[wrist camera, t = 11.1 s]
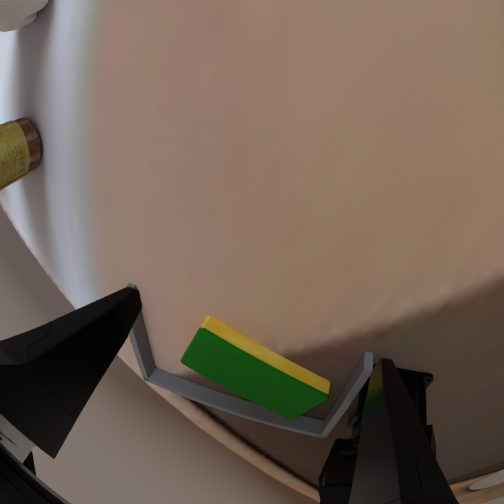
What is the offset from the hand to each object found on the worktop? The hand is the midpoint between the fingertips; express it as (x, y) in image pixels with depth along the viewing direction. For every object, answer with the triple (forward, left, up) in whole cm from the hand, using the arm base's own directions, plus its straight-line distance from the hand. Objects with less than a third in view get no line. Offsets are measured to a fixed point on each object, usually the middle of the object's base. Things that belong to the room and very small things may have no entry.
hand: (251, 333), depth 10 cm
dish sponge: (+1, +18, -12) cm, 22 cm away
